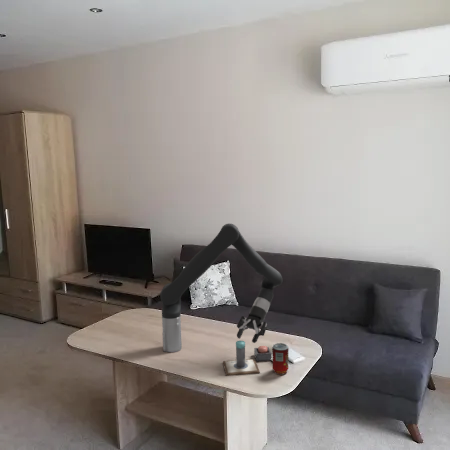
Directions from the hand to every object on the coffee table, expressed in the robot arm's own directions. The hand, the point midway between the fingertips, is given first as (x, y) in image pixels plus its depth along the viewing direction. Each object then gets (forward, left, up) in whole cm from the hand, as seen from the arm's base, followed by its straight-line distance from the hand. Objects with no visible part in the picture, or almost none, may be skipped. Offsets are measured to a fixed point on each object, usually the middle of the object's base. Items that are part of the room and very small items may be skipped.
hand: (245, 340), depth 205 cm
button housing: (+9, +6, -12) cm, 16 cm away
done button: (+9, +6, -9) cm, 15 cm away
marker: (-3, -3, -11) cm, 12 cm away
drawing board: (-3, -3, -12) cm, 13 cm away
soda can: (+14, -9, -12) cm, 21 cm away
